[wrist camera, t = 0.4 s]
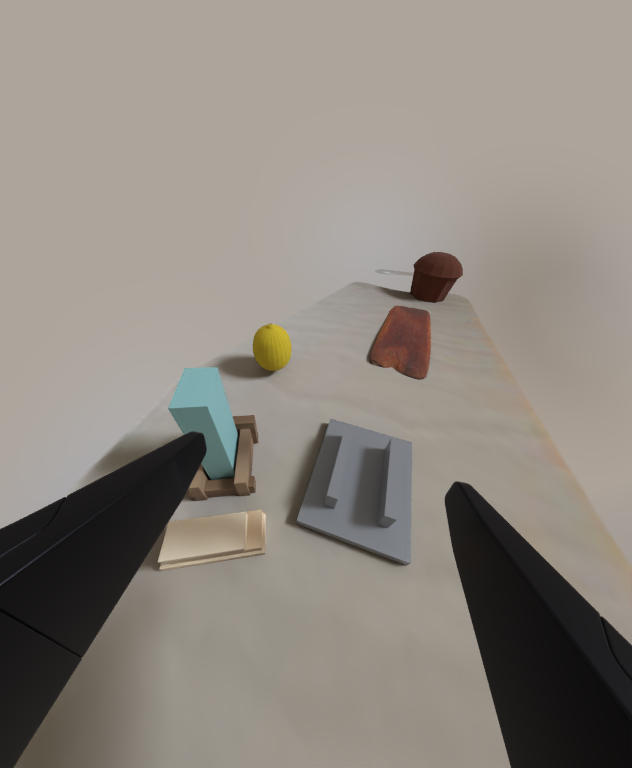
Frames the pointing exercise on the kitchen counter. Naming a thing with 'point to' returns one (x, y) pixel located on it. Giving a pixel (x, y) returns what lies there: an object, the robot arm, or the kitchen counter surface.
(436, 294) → the muffin
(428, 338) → the wooden tablet
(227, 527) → the offcut stack
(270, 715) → the kitchen counter surface
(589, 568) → the kitchen counter surface
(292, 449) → the kitchen counter surface
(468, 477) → the kitchen counter surface
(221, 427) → the teal rectangular block
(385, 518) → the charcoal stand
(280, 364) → the lemon
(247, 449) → the stand
